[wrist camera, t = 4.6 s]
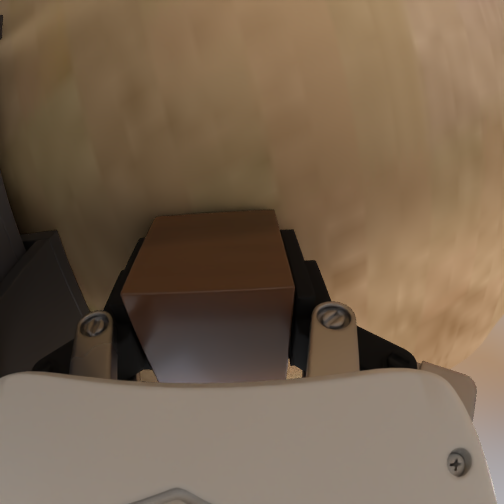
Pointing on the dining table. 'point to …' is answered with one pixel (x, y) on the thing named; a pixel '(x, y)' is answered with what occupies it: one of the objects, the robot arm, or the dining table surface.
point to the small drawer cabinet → (38, 304)
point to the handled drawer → (8, 227)
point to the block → (213, 298)
